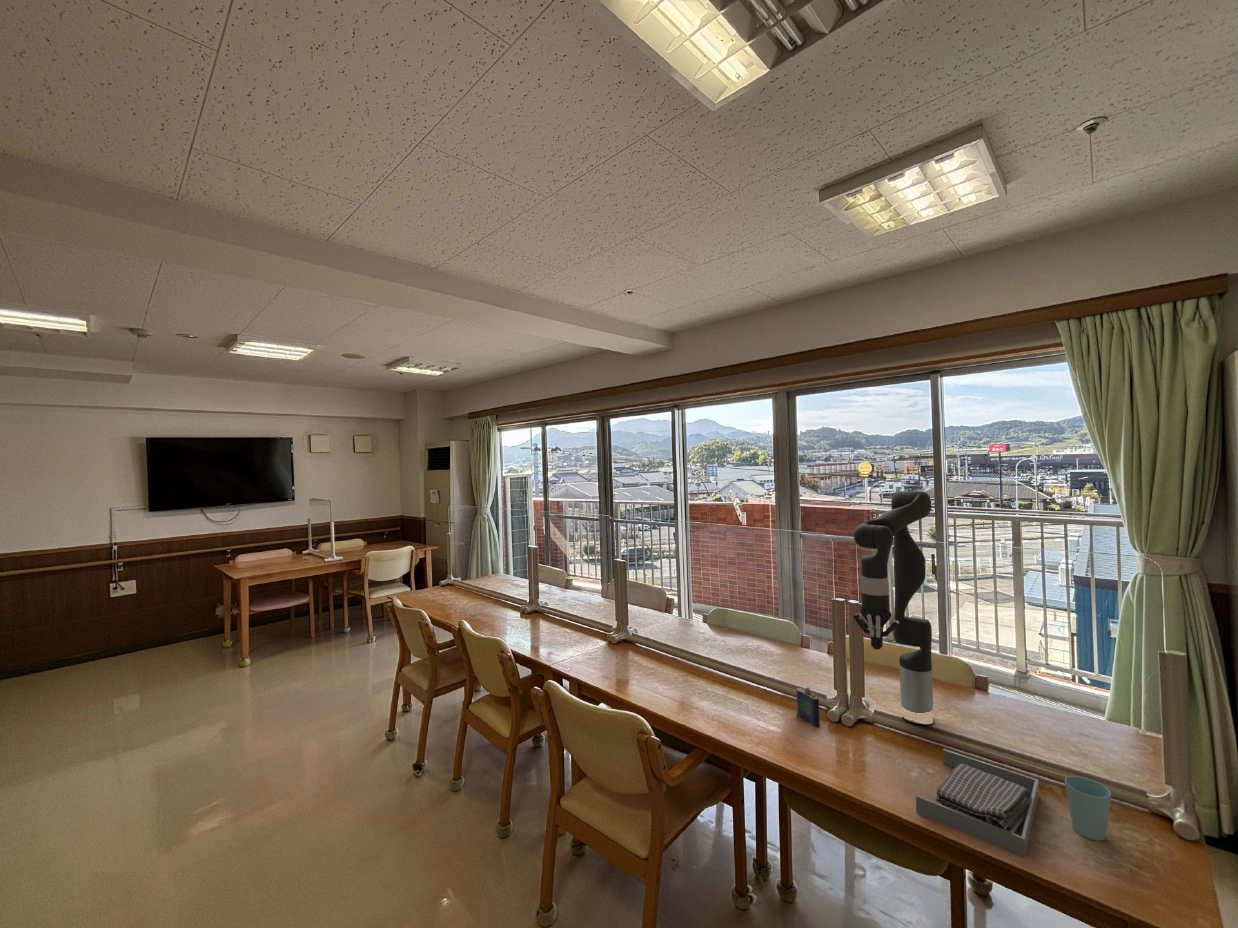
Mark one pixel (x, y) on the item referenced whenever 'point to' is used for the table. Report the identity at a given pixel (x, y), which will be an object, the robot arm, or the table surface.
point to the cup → (1088, 806)
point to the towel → (985, 798)
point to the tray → (977, 826)
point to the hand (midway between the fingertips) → (876, 648)
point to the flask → (808, 706)
